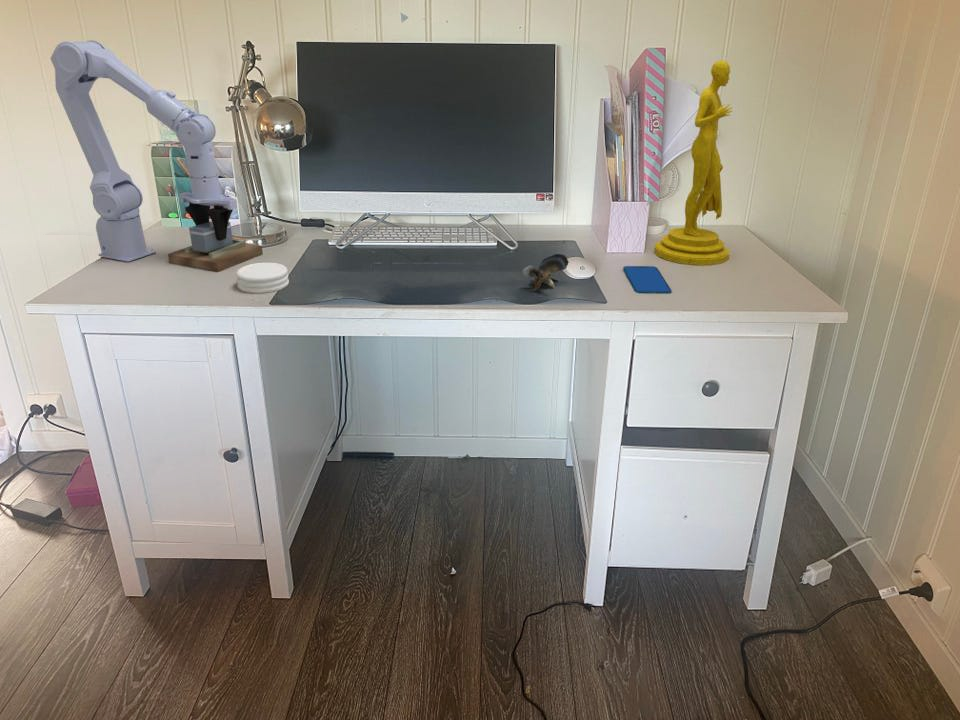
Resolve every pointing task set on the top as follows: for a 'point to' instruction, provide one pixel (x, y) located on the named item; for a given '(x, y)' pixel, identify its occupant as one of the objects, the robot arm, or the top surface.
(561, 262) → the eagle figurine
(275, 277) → the white short ridged cylinder
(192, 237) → the blue-grey lidded box
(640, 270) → the smartphone
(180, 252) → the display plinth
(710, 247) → the statue
